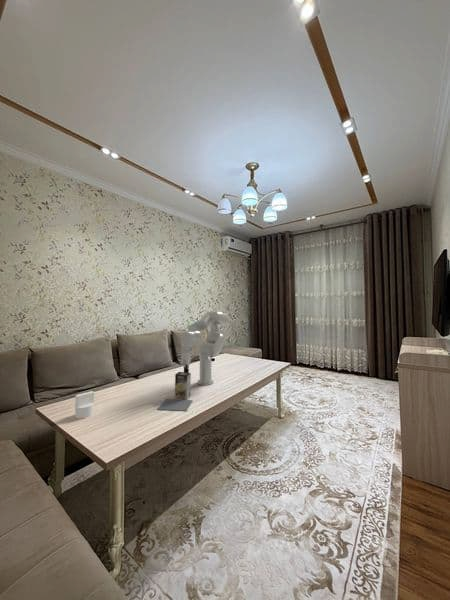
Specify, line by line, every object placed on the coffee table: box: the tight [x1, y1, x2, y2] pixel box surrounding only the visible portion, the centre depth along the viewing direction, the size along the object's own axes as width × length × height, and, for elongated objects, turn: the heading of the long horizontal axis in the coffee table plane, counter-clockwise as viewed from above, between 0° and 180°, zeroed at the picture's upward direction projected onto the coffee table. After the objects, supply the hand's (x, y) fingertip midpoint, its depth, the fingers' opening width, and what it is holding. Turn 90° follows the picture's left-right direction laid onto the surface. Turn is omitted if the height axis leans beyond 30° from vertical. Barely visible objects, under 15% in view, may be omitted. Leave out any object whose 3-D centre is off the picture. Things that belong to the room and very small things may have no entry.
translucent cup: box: [74, 390, 95, 419], centre depth 139 cm, size 9×9×12 cm
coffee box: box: [174, 371, 192, 400], centre depth 167 cm, size 9×6×16 cm
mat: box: [156, 398, 193, 412], centre depth 154 cm, size 16×18×1 cm
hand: (186, 374), depth 176 cm, fingers closed
